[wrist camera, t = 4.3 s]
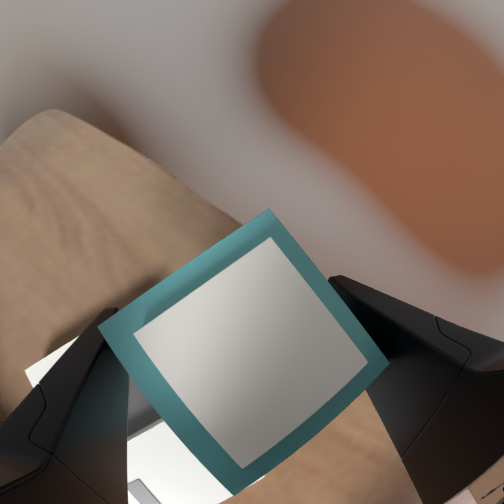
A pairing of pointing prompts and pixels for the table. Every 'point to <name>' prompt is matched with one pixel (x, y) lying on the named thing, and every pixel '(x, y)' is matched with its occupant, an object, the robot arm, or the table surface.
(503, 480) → the robot arm
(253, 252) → the plug
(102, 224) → the table surface
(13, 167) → the table surface
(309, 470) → the table surface
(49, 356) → the socket plate
